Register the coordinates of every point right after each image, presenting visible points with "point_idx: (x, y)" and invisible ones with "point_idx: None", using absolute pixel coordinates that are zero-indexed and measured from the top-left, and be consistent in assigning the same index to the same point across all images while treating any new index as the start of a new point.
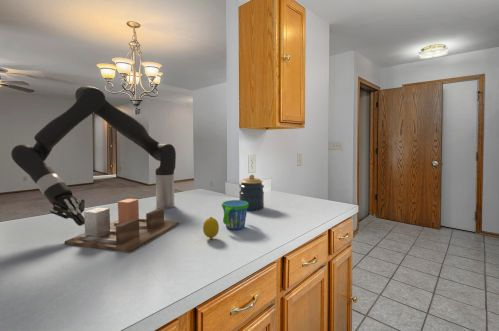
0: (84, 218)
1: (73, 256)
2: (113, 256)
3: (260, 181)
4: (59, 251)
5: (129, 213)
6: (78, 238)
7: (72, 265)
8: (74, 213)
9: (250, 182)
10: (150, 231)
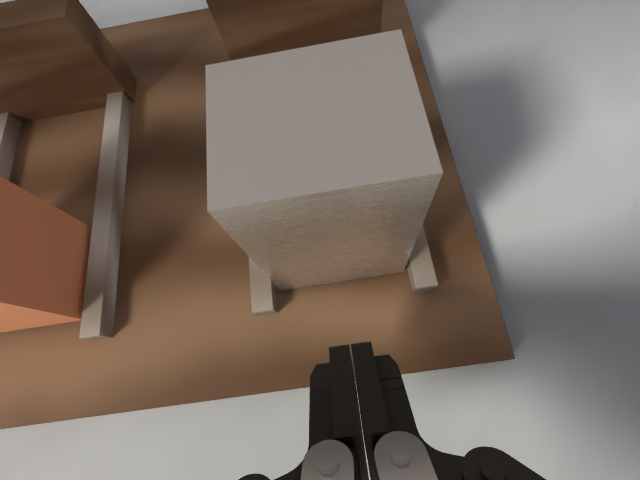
0: (426, 213)
1: (568, 135)
2: (458, 7)
3: None
4: (588, 263)
5: (16, 191)
6: (428, 315)
7: (618, 56)
8: (416, 454)
9: None
10: (169, 58)
